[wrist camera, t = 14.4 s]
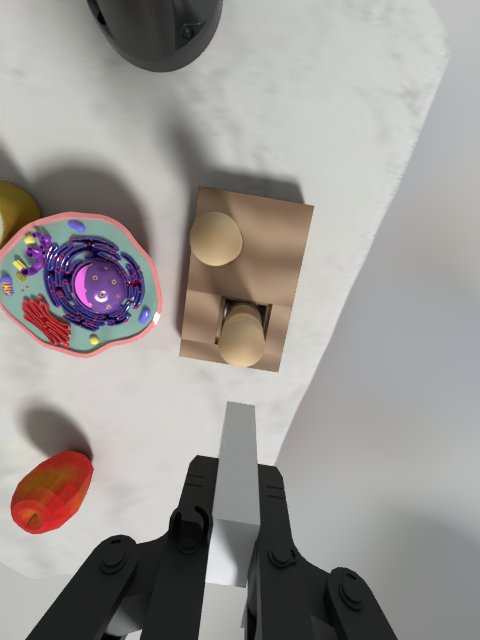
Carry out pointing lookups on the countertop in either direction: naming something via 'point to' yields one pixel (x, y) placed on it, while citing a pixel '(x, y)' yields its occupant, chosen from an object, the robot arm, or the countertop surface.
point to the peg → (242, 335)
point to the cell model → (79, 283)
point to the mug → (15, 210)
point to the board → (242, 268)
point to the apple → (51, 492)
